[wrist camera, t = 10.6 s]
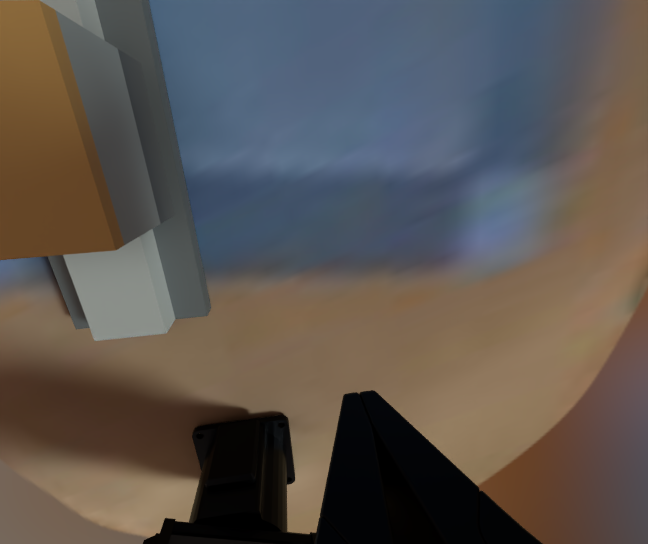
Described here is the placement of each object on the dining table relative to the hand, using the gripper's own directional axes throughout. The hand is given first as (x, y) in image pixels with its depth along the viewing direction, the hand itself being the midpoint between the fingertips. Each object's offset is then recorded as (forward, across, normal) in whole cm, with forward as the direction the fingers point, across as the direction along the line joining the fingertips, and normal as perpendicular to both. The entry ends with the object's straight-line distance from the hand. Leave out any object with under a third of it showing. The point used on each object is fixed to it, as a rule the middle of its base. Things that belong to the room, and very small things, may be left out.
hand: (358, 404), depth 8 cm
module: (+10, +10, -7) cm, 16 cm away
